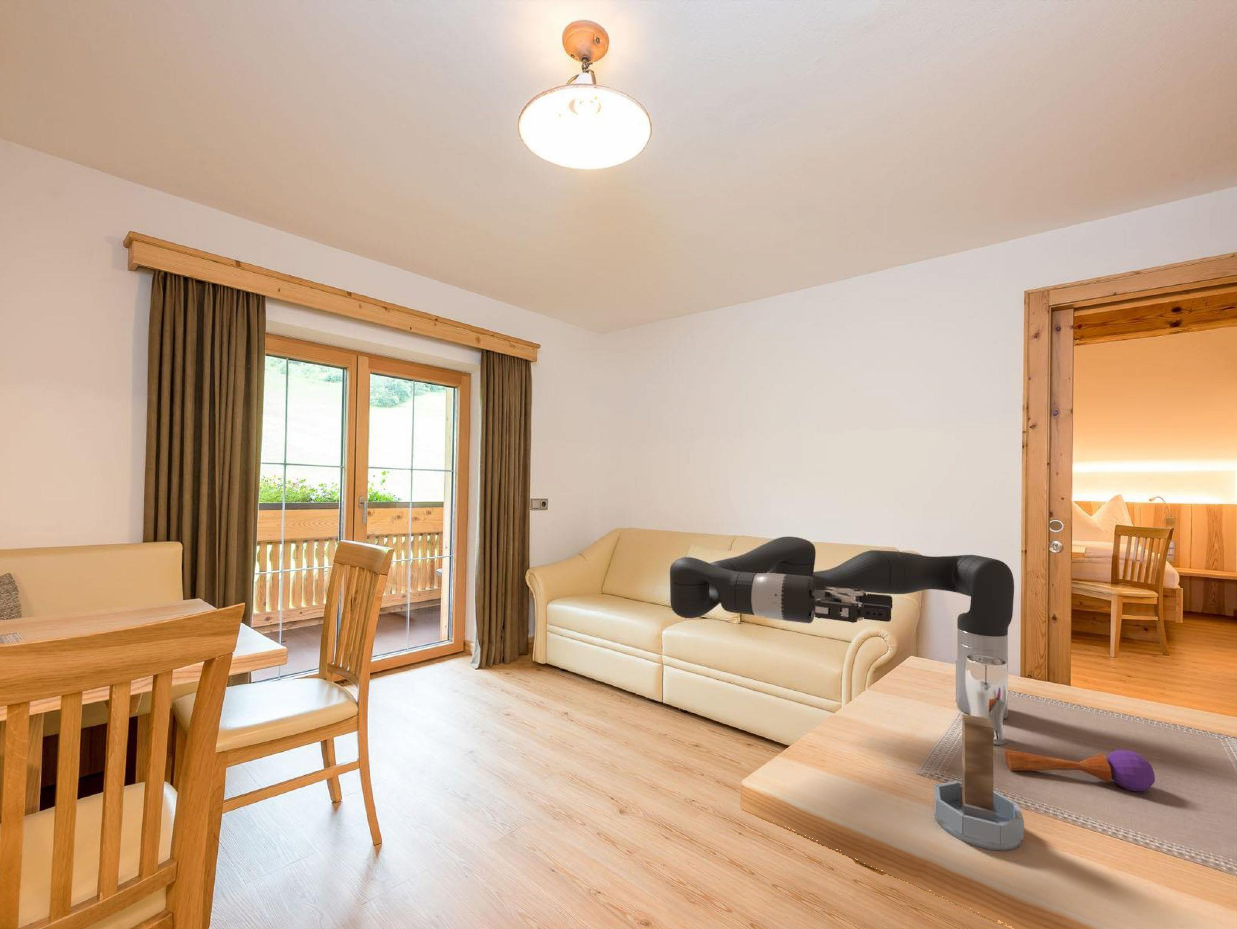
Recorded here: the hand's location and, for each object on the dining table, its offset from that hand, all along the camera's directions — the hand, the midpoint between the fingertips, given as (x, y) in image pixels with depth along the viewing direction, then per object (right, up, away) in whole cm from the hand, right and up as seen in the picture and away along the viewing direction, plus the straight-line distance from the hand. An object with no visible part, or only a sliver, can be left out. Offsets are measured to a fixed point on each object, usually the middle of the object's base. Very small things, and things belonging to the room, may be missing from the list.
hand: (891, 608), depth 86 cm
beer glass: (+29, -31, +23) cm, 48 cm away
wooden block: (+9, -29, -6) cm, 31 cm away
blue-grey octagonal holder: (+9, -30, -6) cm, 32 cm away
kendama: (+35, -31, +8) cm, 47 cm away
